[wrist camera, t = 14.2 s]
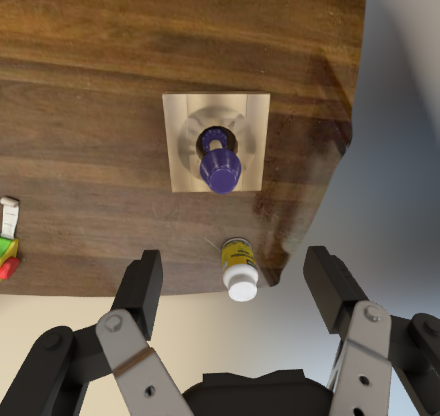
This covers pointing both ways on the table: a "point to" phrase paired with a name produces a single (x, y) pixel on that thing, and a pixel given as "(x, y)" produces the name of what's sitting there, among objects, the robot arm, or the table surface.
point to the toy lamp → (219, 162)
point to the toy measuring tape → (8, 238)
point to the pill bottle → (239, 269)
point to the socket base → (215, 116)
